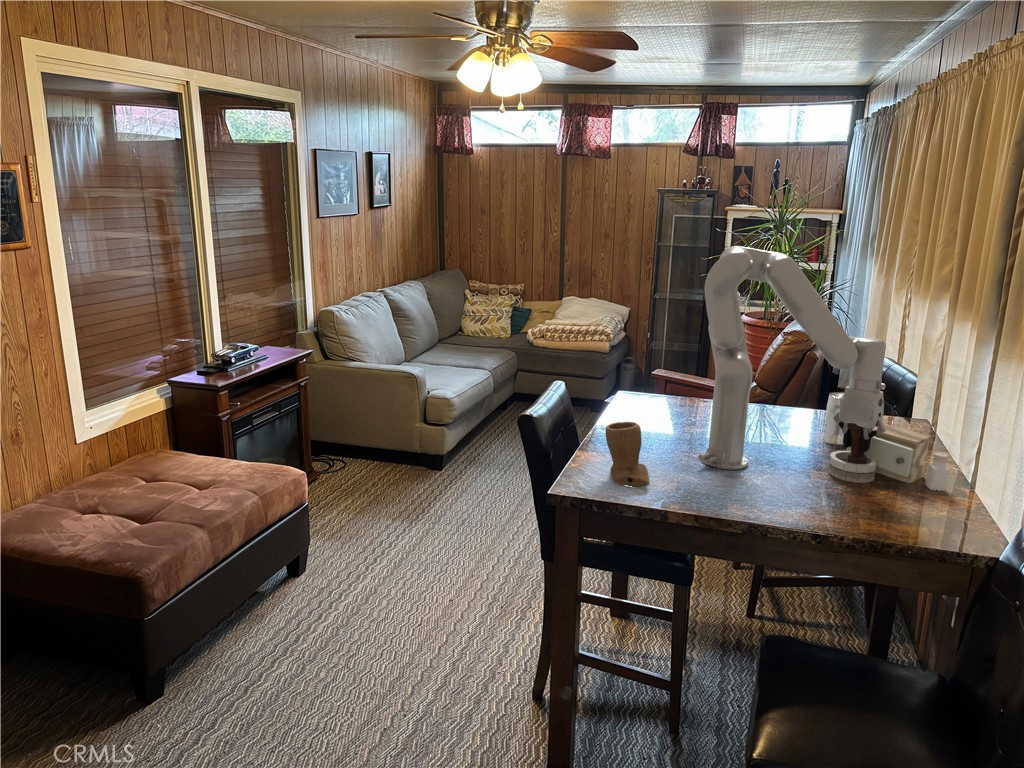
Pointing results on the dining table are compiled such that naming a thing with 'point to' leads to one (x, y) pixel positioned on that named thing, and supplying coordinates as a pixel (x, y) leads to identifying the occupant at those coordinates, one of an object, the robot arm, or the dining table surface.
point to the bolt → (856, 444)
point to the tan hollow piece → (626, 454)
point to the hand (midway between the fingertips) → (855, 448)
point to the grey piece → (877, 458)
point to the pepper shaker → (938, 473)
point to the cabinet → (899, 437)
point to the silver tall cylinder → (833, 428)
